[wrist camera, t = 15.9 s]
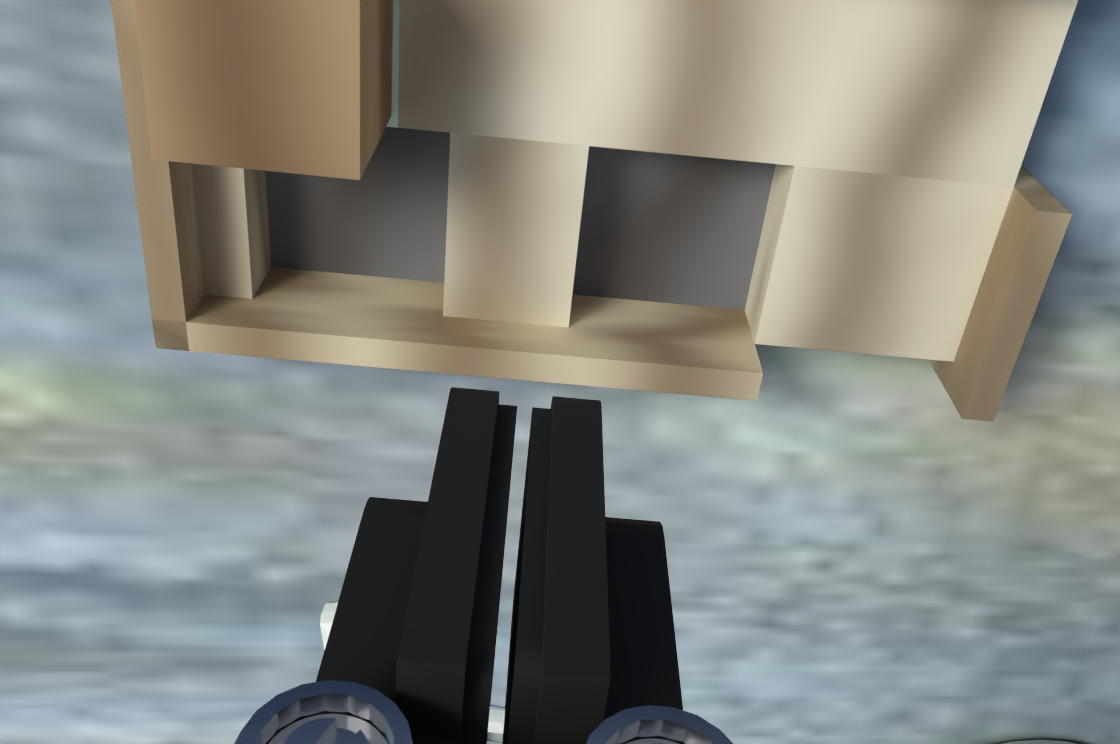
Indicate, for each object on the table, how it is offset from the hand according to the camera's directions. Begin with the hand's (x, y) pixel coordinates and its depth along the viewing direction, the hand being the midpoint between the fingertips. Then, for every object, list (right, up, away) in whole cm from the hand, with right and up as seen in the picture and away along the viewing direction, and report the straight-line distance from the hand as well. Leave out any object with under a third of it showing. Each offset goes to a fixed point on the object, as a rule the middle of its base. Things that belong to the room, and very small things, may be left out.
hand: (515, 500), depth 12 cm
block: (-7, +11, +16) cm, 21 cm away
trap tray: (+2, +9, +20) cm, 22 cm away
